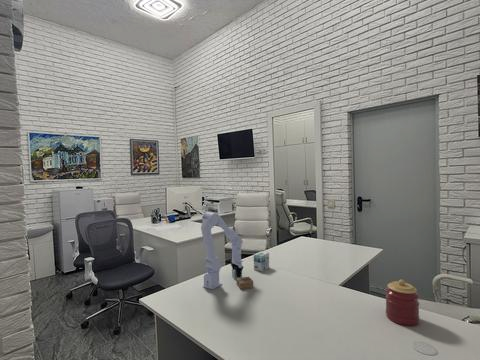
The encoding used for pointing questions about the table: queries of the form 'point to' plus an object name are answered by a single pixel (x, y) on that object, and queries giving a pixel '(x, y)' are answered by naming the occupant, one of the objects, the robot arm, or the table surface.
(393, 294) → the canister
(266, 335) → the table surface
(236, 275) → the slate cube
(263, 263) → the light bulb box
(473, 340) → the table surface
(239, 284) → the walnut block
